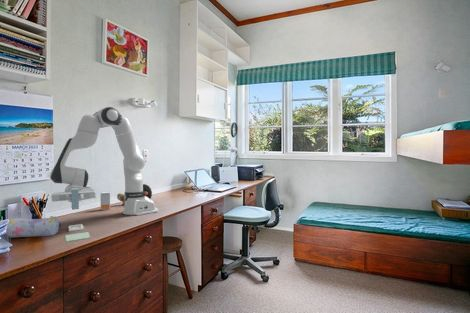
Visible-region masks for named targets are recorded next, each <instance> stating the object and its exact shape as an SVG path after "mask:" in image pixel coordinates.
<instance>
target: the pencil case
mask: <svg viewBox="0 0 470 313" xmlns="http://www.w3.org/2000/svg"><path fill="white" fill-rule="evenodd" d="M60 227H61V223H60V222H59V218H58V217H57V216H54V215H51V216H49V217H44V218H35V219H33V218H32V219H31V218H24V217H23V218H22V217H13V218H12V219H11V218H10V220H9V221H8V223H7V227H6V234H7V236H8V237H9V238H13V239H14V238H29V237H50V236H54V235H55V234H57V233H58V232H59V230H60ZM7 232H8V233H7Z"/></svg>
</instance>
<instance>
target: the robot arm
mask: <svg viewBox="0 0 470 313" xmlns="http://www.w3.org/2000/svg"><path fill="white" fill-rule="evenodd" d="M120 113H121V112H119V110H117V108H115V107H113V106H112V107H111V106H108V107H104V108H101V109H99V110H98V111H95V113H93V114H85V115H83V116H82V117H81V119H80V122H79V123H78V127H77V130H76V133H75V134H74V136H73V137H70V138H69V139H68V140H67V141H66V142H65V145H64V147H63V149H62V151H61V153H60V155H59V157H58V159H57V161H56V164H55V165H54V166H53V168H52V169H51V170H50V175H49V176H50V180H51V181H52V182H53V183H54V184H65V185H67V186H66V187H65V188H64V191H58V192H54V193H52V194H51V202H65V201H68V202H69V203H72V196H71V189H72V188H78V193H79V202H81V201H85V200H89V199H90V200H91V199H96V197H97V191H96V190H95V189H94V188H92V187H91V186H87V185H88V182H89V172H88V171H87V170H86V169H84V168H78V167H72V166H66V165H65V164H66V162H67V161H68V159H69V158H68V157H69V156H70V154H71V152H73V151H74V150H75V151H77V150H80V149H81V150H82V149H88V148H91V147H93V146H94V145H95V144H96V142H97V139H98V136H99V131H100V129H101V128H102V129H103V128H107V127H111V128H112V129H113V131H114V134H115V137H116V140H117V144H118V146H119V149H120V151H121V154H122V156H123V159H122V163H123V165H122V166H123V172H124V173H123V174H124V187H125V188H124V193H123V195H124V199H125V205H123V206H124V208H123V211H122V214H124V215H127V216H141V215H147V214H152V213H157V212H159V208H158V207H156V204H155V202H154V200H152V198H151V199H149V198H148V197H146V195H148V192H145V191H143V184H144V181H143V180H144V179H143V174H142V169H143V168H144V167H145V164H146V161H145V159H144V156H143V153H142V150H141V148H140V147H139V145H138V143H137V138H136V136H135V131H134V129H133V126H132V124H131V122H130V120H129V119H128V118H127V117H126V116H123V115H122V114H120Z"/></svg>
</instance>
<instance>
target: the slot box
mask: <svg viewBox="0 0 470 313" xmlns="http://www.w3.org/2000/svg"><path fill="white" fill-rule="evenodd" d="M67 228H68V232H69V233H70V232H77V231H83V230H85V228H84V225H83V224H82V223H80V224H74V225H68V226H67Z"/></svg>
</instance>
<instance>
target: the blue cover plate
mask: <svg viewBox="0 0 470 313" xmlns="http://www.w3.org/2000/svg"><path fill="white" fill-rule="evenodd" d="M71 196H72V202H71V210H79V208H80V204H79V203H80V201H79V193H78V188H72V189H71Z"/></svg>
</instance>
